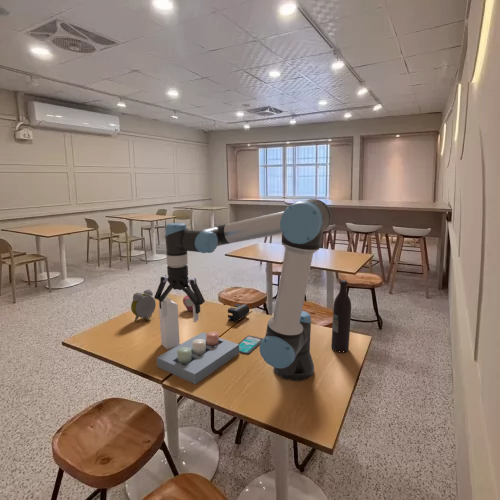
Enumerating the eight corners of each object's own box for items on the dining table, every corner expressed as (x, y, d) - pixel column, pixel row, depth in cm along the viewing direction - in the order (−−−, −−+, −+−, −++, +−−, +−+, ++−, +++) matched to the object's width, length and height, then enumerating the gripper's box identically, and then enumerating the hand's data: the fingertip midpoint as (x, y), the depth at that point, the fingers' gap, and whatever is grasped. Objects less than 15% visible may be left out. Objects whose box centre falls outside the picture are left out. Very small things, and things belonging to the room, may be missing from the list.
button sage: (194, 359, 128) (194, 349, 127) (184, 365, 124) (184, 355, 123) (184, 355, 131) (184, 345, 130) (174, 361, 126) (174, 351, 126)
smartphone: (264, 338, 150) (248, 353, 138) (264, 340, 151) (248, 355, 138) (248, 334, 154) (230, 348, 142) (248, 336, 155) (230, 351, 142)
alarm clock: (151, 314, 179) (149, 287, 176) (159, 317, 175) (157, 289, 172) (131, 321, 170) (129, 293, 167) (139, 325, 166) (137, 296, 163)
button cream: (208, 350, 134) (208, 341, 133) (199, 356, 130) (199, 346, 129) (199, 346, 137) (198, 337, 136) (189, 352, 133) (189, 342, 132)
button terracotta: (221, 342, 141) (221, 333, 140) (213, 347, 136) (213, 338, 136) (212, 339, 143) (211, 330, 143) (203, 344, 139) (203, 335, 138)
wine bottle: (335, 343, 147) (338, 277, 141) (350, 347, 143) (355, 280, 137) (328, 349, 142) (332, 281, 135) (345, 354, 138) (349, 284, 131)
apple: (181, 312, 182) (180, 295, 179) (186, 306, 190) (185, 289, 188) (198, 313, 180) (197, 295, 178) (202, 307, 188) (202, 290, 186)
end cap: (238, 324, 167) (238, 311, 166) (227, 320, 171) (227, 308, 170) (249, 317, 176) (249, 304, 174) (238, 314, 179) (238, 302, 178)
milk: (166, 349, 142) (163, 300, 138) (161, 344, 147) (157, 296, 142) (180, 345, 146) (177, 297, 141) (174, 340, 151) (171, 293, 146)
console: (239, 353, 139) (239, 344, 138) (195, 384, 118) (194, 374, 117) (203, 340, 150) (202, 332, 149) (157, 366, 129) (156, 357, 129)
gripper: (212, 265, 124) (213, 318, 129) (154, 260, 132) (157, 311, 137) (203, 270, 117) (205, 327, 122) (142, 264, 125) (146, 318, 130)
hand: (180, 318), depth 129 cm, fingers open, 13 cm apart
